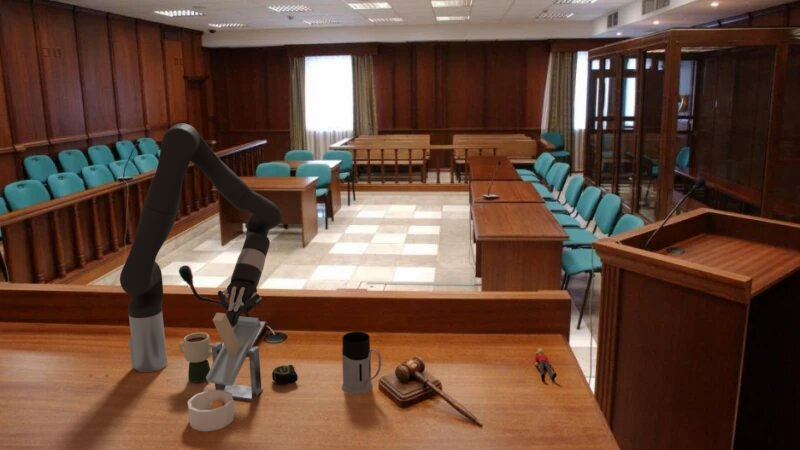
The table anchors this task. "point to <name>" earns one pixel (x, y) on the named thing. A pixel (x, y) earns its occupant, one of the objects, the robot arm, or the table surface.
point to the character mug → (197, 355)
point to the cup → (210, 410)
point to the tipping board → (232, 361)
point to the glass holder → (357, 363)
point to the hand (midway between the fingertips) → (230, 326)
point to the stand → (255, 389)
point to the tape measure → (284, 375)
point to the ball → (216, 404)
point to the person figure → (543, 364)
